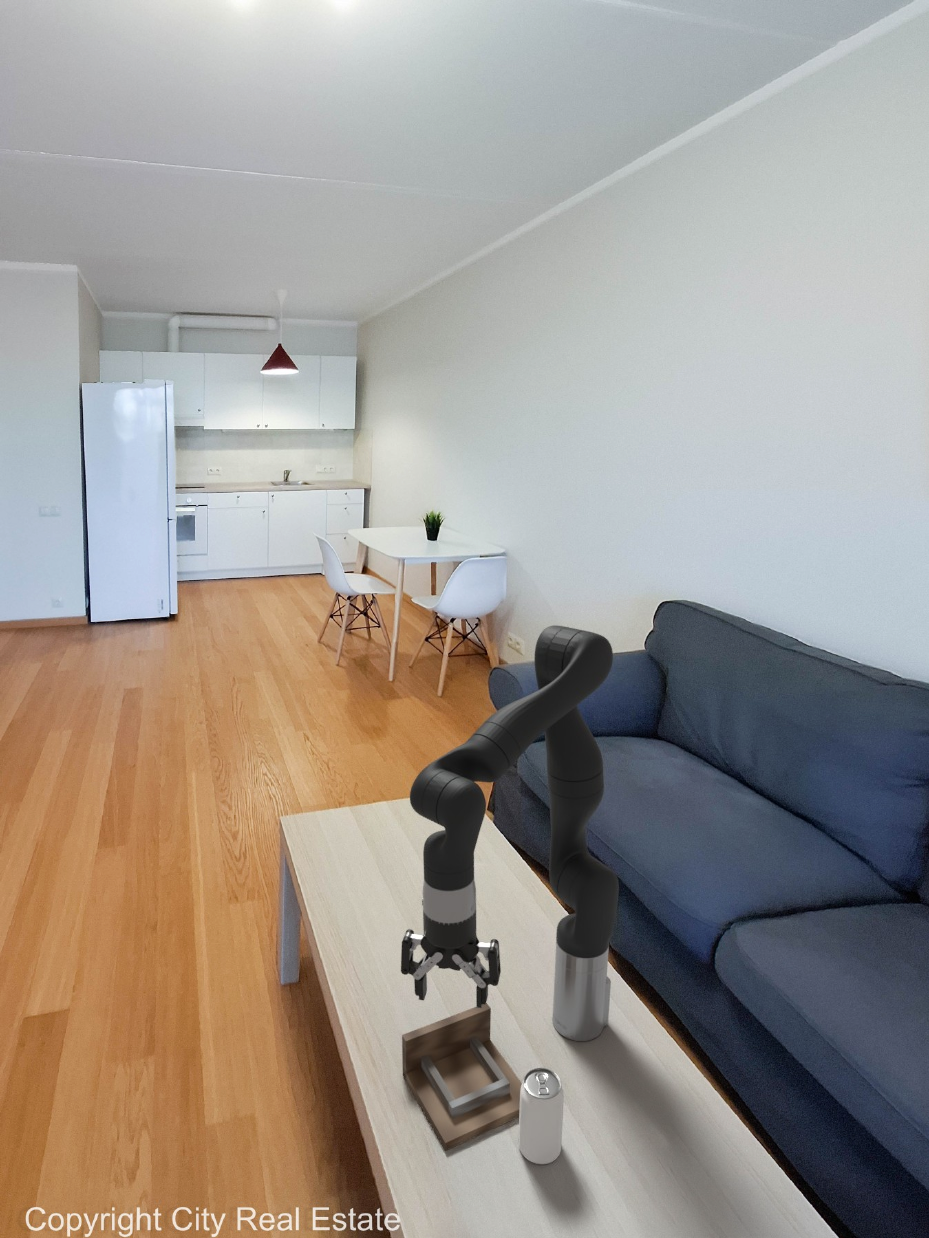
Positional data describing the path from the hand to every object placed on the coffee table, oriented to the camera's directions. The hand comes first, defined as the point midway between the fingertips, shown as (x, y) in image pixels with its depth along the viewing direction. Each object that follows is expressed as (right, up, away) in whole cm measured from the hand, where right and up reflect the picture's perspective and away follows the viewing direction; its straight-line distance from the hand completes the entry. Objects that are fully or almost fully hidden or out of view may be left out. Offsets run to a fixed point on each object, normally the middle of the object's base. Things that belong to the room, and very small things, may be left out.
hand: (451, 999), depth 117 cm
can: (+13, -25, +5) cm, 28 cm away
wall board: (+2, -22, +14) cm, 26 cm away
